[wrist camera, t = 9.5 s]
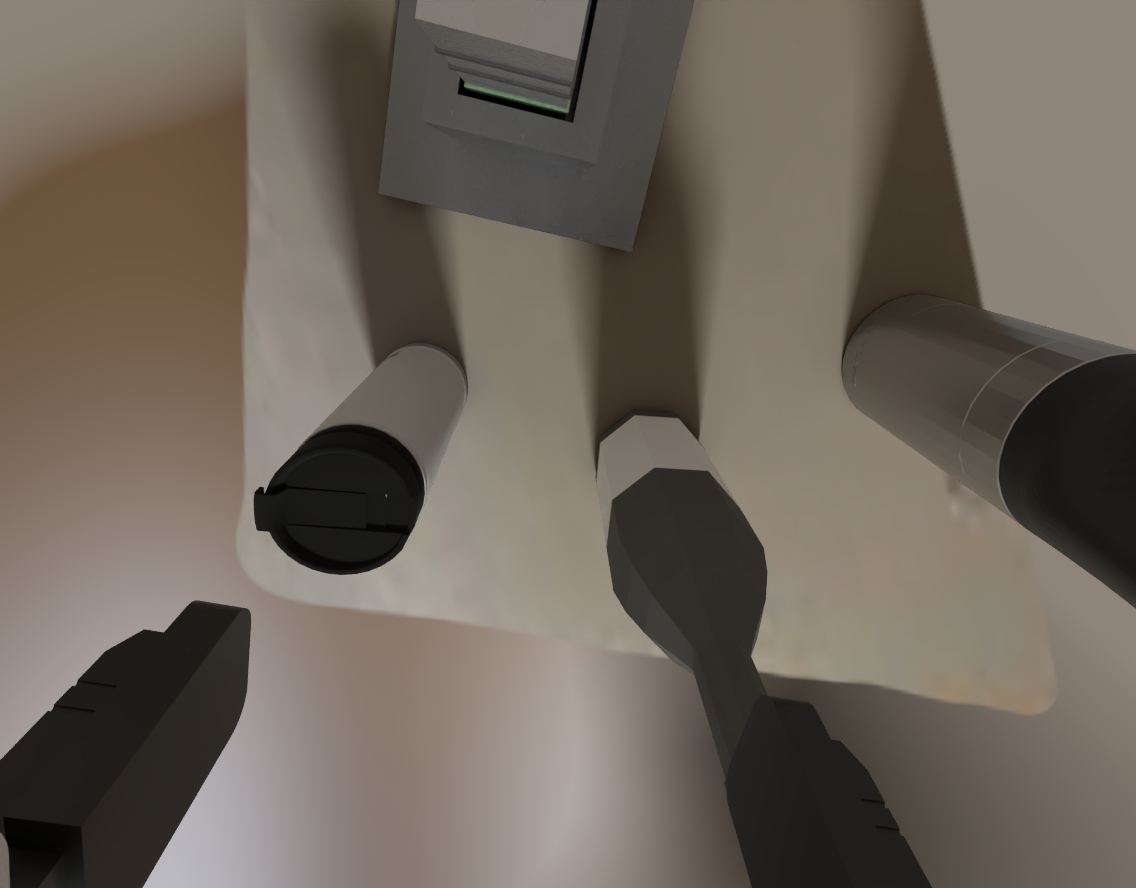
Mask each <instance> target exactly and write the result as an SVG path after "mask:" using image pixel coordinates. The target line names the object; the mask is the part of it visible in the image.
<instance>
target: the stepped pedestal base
mask: <svg viewBox="0 0 1136 888" xmlns="http://www.w3.org/2000/svg"><path fill="white" fill-rule="evenodd" d="M693 3H694V0H592V1H591V6H590V11H589V16H588V21H587V26H586V31H585V36H584V41H583V46H582V51H581V56H580V61H579V66H578V71H577V76H576V81H575V86H574V89H573V94H572V99H571V102H570V107H569V112H568V115H565V120H564V121H563V120H559V119H555V118H551V117H547V116H543V115H539V114H535V113H531V112H527V111H523V110H519V109H515V108H511V107H507V106H503V105H499V104H495V103H491V102H487V101H483V100H479V99H477V97H476V96H475V95H474V93H473V92H472V91H468V90H466V88H465V87H464V84H465V82H464V81H463V79H462V78H461V77H460V75H459V74H458V73H457V72H456V71H454V70H450V69H449V68H448V63H449V61H448V60H447V59H446V57H445V56H444V55H441V54H437V53H436V52H435V51H434V48H435V43H434V42H433V41H432V40H431V38H430V37H429V36H428V34H427V33H426V32H425V31H424V29H423V28H422V27H421V25H420V24H419V23H418V22H417V20H416V19H415V14H416V6H417V0H400V1H399V10H398V19H397V28H396V37H395V47H394V56H393V65H392V74H391V83H390V92H389V101H388V110H387V119H386V128H385V137H384V146H383V155H382V164H381V173H380V182H379V191H378V194H382V195H387V196H391V197H395V198H400V199H404V200H408V201H413V202H417V203H421V204H426V205H430V206H434V207H438V208H443V209H447V210H451V211H456V212H460V213H464V214H469V215H473V216H477V217H482V218H486V219H490V220H495V221H499V222H503V223H508V224H512V225H516V226H521V227H525V228H529V229H533V230H538V231H542V232H546V233H551V234H555V235H559V236H564V237H568V238H572V239H577V240H581V241H585V242H590V243H594V244H598V245H603V246H607V247H611V248H615V249H620V250H624V251H628V252H632V249H633V245H634V241H635V237H636V233H637V229H638V225H639V221H640V217H641V213H642V209H643V205H644V201H645V197H646V193H647V189H648V185H649V181H650V177H651V173H652V169H653V165H654V161H655V157H656V153H657V149H658V145H659V141H660V137H661V133H662V128H663V124H664V120H665V116H666V112H667V108H668V104H669V100H670V96H671V92H672V88H673V84H674V80H675V76H676V72H677V68H678V64H679V60H680V56H681V52H682V48H683V44H684V40H685V36H686V32H687V28H688V24H689V20H690V16H691V12H692V8H693Z"/></svg>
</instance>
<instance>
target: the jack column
mask: <svg viewBox="0 0 1136 888" xmlns="http://www.w3.org/2000/svg"><path fill="white" fill-rule="evenodd" d="M591 1H592V0H417V6H416V14H415V19H416V20H417V22H418V23H419V24H420V25H421V27H422V28H423V29H424V31H425V32H426V33H427V34H428V36H429V37H430V38H431V40H432V41H433V42H434V43H435V48H434V51H435V52H436V53H437V54H441V55H444V56H445V57H446V59H447V60H448V61H449V63H448V68H449V69H450V70H454V71H456V72H457V73H458V74H459V75H460V77H461V78H462V79H463V81H464V82H465V84H464V87H465V88H466V90H468V91H472V92H473V93H474V95H475V96H476V97H477V99H479V100H483V101H487V102H491V103H495V104H499V105H503V106H507V107H511V108H515V109H519V110H523V111H527V112H531V113H535V114H539V115H543V116H547V117H551V118H555V119H559V120H563V121H564V120H565V115H568V112H569V107H570V102H571V99H572V94H573V89H574V86H575V81H576V76H577V71H578V66H579V61H580V56H581V51H582V46H583V41H584V36H585V31H586V26H587V21H588V16H589V11H590V6H591Z"/></svg>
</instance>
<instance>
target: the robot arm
mask: <svg viewBox="0 0 1136 888" xmlns="http://www.w3.org/2000/svg"><path fill="white" fill-rule="evenodd" d="M842 377H843V383H844V387H845V390H846V392H847V394H848V397H849V399H850V400H851V401H852V403H853V404H854V405H855V406H856V408H858V409H859V410H860V411H861V412H863V413H864V414H865V415H867V416H868V417H869V418H871V419H872V420H874V421H875V422H876V423H878V424H879V425H881V426H882V427H883V428H885V429H886V430H887V431H889V432H890V433H891V434H893V435H894V436H896V437H897V438H899V439H900V440H901V441H903V442H904V443H906V444H907V445H908V446H910V447H911V448H913V449H914V450H915V451H917V452H918V453H920V454H921V455H923V456H924V457H925V458H927V459H928V460H930V461H931V462H932V463H934V464H935V465H937V466H938V467H939V468H941V469H942V470H944V471H945V472H947V473H948V474H949V475H951V476H952V477H954V478H955V479H956V480H958V481H959V482H961V483H962V484H963V485H965V486H966V487H968V488H969V489H971V490H972V491H973V492H975V493H976V494H978V495H979V496H980V497H982V498H984V499H985V500H987V501H988V502H989V503H991V504H992V505H994V506H995V507H996V508H998V509H999V510H1001V511H1002V512H1004V513H1005V514H1006V515H1008V516H1009V517H1011V518H1012V519H1013V520H1015V521H1016V522H1018V523H1019V524H1021V525H1022V526H1023V527H1025V528H1026V529H1027V530H1029V531H1030V532H1032V533H1033V534H1035V535H1036V536H1038V537H1039V538H1041V539H1042V540H1044V541H1045V542H1047V543H1048V544H1049V545H1051V546H1052V547H1054V548H1055V549H1057V550H1058V551H1060V552H1061V553H1062V554H1064V555H1065V556H1067V557H1068V558H1069V559H1071V560H1072V561H1073V562H1075V563H1076V564H1077V565H1079V566H1080V567H1082V568H1083V569H1085V570H1086V571H1087V572H1089V573H1090V574H1092V575H1093V576H1094V577H1096V578H1097V579H1098V580H1100V581H1101V582H1103V583H1104V584H1105V585H1106V586H1108V587H1109V588H1110V589H1111V590H1113V591H1114V592H1115V593H1117V594H1118V595H1119V596H1120V597H1122V598H1123V599H1124V600H1126V601H1127V602H1128V603H1129V604H1131V605H1132V606H1133V607H1134V608H1136V351H1135V350H1132V349H1128V348H1124V347H1120V346H1117V345H1113V344H1110V343H1106V342H1102V341H1098V340H1093V339H1090V338H1086V337H1082V336H1079V335H1075V334H1071V333H1067V332H1064V331H1061V330H1057V329H1053V328H1049V327H1046V326H1042V325H1038V324H1035V323H1031V322H1027V321H1024V320H1020V319H1016V318H1013V317H1009V316H1005V315H1002V314H998V313H994V312H991V311H987V310H983V309H980V308H976V307H973V306H970V305H966V304H962V303H958V302H955V301H951V300H947V299H943V298H939V297H935V296H931V295H910V296H905V297H900V298H898V299H895V300H893V301H890V302H888V303H886V304H884V305H883V306H881V307H880V308H878V309H876V310H875V311H873V312H872V313H871V314H870V315H869V316H868V317H867V318H866V319H865V320H864V321H863V322H862V323H861V324H860V325H859V327H858V328H857V329H856V331H855V332H854V333H853V335H852V337H851V339H850V341H849V343H848V345H847V347H846V351H845V355H844V358H843V366H842ZM250 631H251V614H250V611H249V610H248V609H246V608H241V607H235V606H228V605H222V604H216V603H210V602H203V601H193V602H191V603H190V604H189V605H188V606H187V607H186V608H185V609H184V610H183V612H182V613H181V614H180V615H179V616H178V617H177V618H176V619H175V621H174V622H173V623H172V624H171V625H170V626H169V628H168V629H167V630H166V631H165V632H164V633H163V632H157V631H151V630H143V631H141V632H139V633H137V634H135V635H134V636H132V637H130V638H128V639H126V640H125V641H123V642H121V643H119V644H118V645H116V646H114V647H112V648H110V649H109V650H107V651H105V652H104V653H103V654H102V656H101V657H100V658H99V659H98V660H97V661H96V662H95V663H94V664H93V665H92V666H91V667H90V668H89V669H88V670H87V671H86V672H85V673H84V674H83V675H82V676H81V677H80V678H79V679H78V682H77V684H76V686H72V687H71V688H70V689H69V690H68V691H67V692H66V693H65V694H64V695H63V696H62V697H61V698H60V699H59V700H58V701H57V702H56V703H55V704H54V707H53V710H52V711H47V712H46V714H44V716H43V717H42V718H41V719H40V720H39V721H38V722H37V723H36V724H35V725H34V726H33V727H32V728H31V729H30V730H29V731H28V732H27V733H26V734H25V735H24V736H23V737H22V738H21V739H20V740H19V741H18V743H16V744H15V746H14V747H13V748H12V749H11V750H10V751H9V752H8V753H7V754H6V755H5V756H4V757H3V758H2V759H1V760H0V888H142V887H143V886H144V884H145V882H146V881H147V879H148V877H149V875H150V874H151V872H152V870H153V869H154V867H155V865H156V863H157V862H158V860H159V858H160V857H161V855H162V853H163V851H164V850H165V848H166V846H167V845H168V843H169V841H170V840H171V838H172V836H173V834H174V833H175V831H176V829H177V828H178V826H179V824H180V822H181V821H182V819H183V817H184V816H185V814H186V812H187V811H188V809H189V807H190V805H191V804H192V802H193V800H194V799H195V797H196V795H197V793H198V792H199V790H200V788H201V786H202V785H203V783H204V781H205V780H206V778H207V776H208V775H209V773H210V771H211V769H212V768H213V766H214V764H215V763H216V761H217V759H218V758H219V756H220V754H221V752H222V751H223V749H224V747H225V746H226V744H227V742H228V741H229V739H230V737H231V735H232V733H233V732H234V730H235V727H236V725H237V723H238V721H239V718H240V715H241V712H242V709H243V706H244V702H245V698H246V693H247V683H248V664H249V648H250ZM726 788H727V801H728V806H729V809H730V813H731V817H732V820H733V824H734V827H735V830H736V834H737V837H738V841H739V844H740V847H741V851H742V854H743V858H744V861H745V865H746V868H747V872H748V875H749V878H750V882H751V885H752V888H932V887H931V885H930V883H929V881H928V880H927V878H926V876H925V874H924V872H923V870H922V869H921V867H920V865H919V863H918V861H917V860H916V858H915V856H914V854H913V852H912V850H911V849H910V847H909V845H908V843H907V841H906V839H905V838H904V836H900V833H899V830H900V829H899V827H898V825H897V823H896V821H895V819H894V818H893V816H892V814H891V812H890V810H889V809H888V808H885V805H884V804H885V801H884V799H883V798H882V796H881V794H880V793H879V790H878V789H877V787H876V785H875V783H874V781H873V780H872V777H871V776H870V774H869V772H868V770H867V769H866V768H865V767H864V766H863V765H862V764H861V763H860V762H859V761H858V759H857V758H856V757H855V756H854V755H853V754H852V753H851V752H850V751H849V750H848V749H847V748H846V747H845V746H844V744H843V743H842V742H841V741H836V740H831V739H830V737H829V735H828V733H827V731H826V729H825V727H824V725H823V723H822V721H821V719H820V717H819V715H818V713H817V711H816V710H815V708H814V707H813V705H812V704H810V703H809V702H806V701H800V700H794V699H788V698H782V697H775V696H769V695H761V696H760V697H759V698H758V699H757V700H756V701H755V703H754V706H753V708H752V710H751V713H750V715H749V718H748V720H747V723H746V725H745V727H744V730H743V732H742V735H741V737H740V740H739V742H738V744H737V747H736V749H735V752H734V754H733V757H732V759H731V762H730V764H729V768H728V773H727V786H726Z"/></svg>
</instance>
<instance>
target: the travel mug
mask: <svg viewBox="0 0 1136 888" xmlns="http://www.w3.org/2000/svg"><path fill="white" fill-rule="evenodd" d="M467 394H468V383H467V379H466V375H465V373H464V370H463V368H462V366H461V365H460V364H459V362H458V361H457V360H456V359H455V358H454V357H453V356H452V355H451V354H450V353H449V352H447V351H446V350H444V349H443V348H440V347H438V346H435V345H432V344H427V343H412V344H407V345H404V346H402V347H399V348H398V349H396V350H395V351H393V352H392V353H391V354H390V355H389V356H388V357H387V358H386V359H385V360H384V361H383V362H382V363H381V364H380V365H379V366H378V367H377V368H376V369H375V370H374V371H373V372H372V373H371V374H370V375H369V376H368V377H367V378H366V379H365V380H364V381H363V382H362V383H361V384H360V385H359V386H358V387H357V388H356V389H355V390H354V391H353V392H352V393H351V394H350V395H349V396H348V397H347V398H346V399H345V400H344V401H343V402H342V404H341V405H340V406H339V407H338V408H337V409H336V410H335V411H334V412H333V413H332V414H331V415H330V416H329V417H328V418H327V419H326V420H325V421H324V422H323V423H322V424H321V425H320V426H319V427H318V428H317V429H316V430H315V431H314V432H313V433H312V434H311V435H310V436H309V437H308V438H307V439H306V440H305V441H304V442H303V443H302V444H301V445H300V447H299V448H298V450H297V451H296V452H295V453H294V454H293V455H292V456H291V457H290V458H289V459H288V461H287V462H286V463H285V464H284V465H283V466H282V467H281V468H280V469H279V470H278V471H277V472H276V473H275V474H274V476H273V478H272V479H271V481H270V483H269V485H268V487H267V490H266V492H265V493H264V487H259V488H258V489H257V490H256V491H255V494H254V516H255V524H256V529H257V530H258V531H268V532H270V534H271V536H272V538H273V539H274V541H275V542H276V544H277V545H278V546H279V547H280V548H281V549H282V550H283V551H284V552H285V553H286V554H287V555H288V556H289V557H291V558H292V559H294V560H295V561H296V562H298V563H299V564H302V565H304V566H306V567H308V568H310V569H313V570H316V571H320V572H324V573H328V574H338V575H347V574H358V573H362V572H367V571H370V570H373V569H375V568H378V567H380V566H382V565H384V564H385V563H387V562H388V561H390V560H392V559H393V558H394V557H395V556H396V555H397V554H398V553H399V552H400V551H401V550H402V549H403V547H404V545H405V543H406V541H407V539H408V537H409V536H410V534H411V532H412V530H413V528H414V526H415V524H416V521H417V519H418V518H419V516H420V515H421V512H422V510H423V507H424V505H425V502H426V500H427V497H428V495H429V492H430V490H431V487H432V485H433V482H434V480H435V477H436V475H437V472H438V470H439V467H440V465H441V462H442V460H443V457H444V455H445V452H446V450H447V447H448V445H449V442H450V440H451V437H452V435H453V432H454V430H455V427H456V425H457V422H458V420H459V417H460V415H461V412H462V410H463V407H464V405H465V402H466V400H467Z"/></svg>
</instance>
